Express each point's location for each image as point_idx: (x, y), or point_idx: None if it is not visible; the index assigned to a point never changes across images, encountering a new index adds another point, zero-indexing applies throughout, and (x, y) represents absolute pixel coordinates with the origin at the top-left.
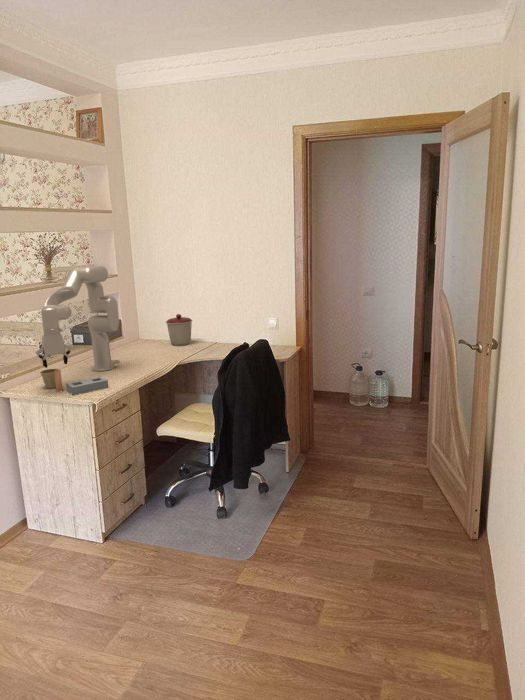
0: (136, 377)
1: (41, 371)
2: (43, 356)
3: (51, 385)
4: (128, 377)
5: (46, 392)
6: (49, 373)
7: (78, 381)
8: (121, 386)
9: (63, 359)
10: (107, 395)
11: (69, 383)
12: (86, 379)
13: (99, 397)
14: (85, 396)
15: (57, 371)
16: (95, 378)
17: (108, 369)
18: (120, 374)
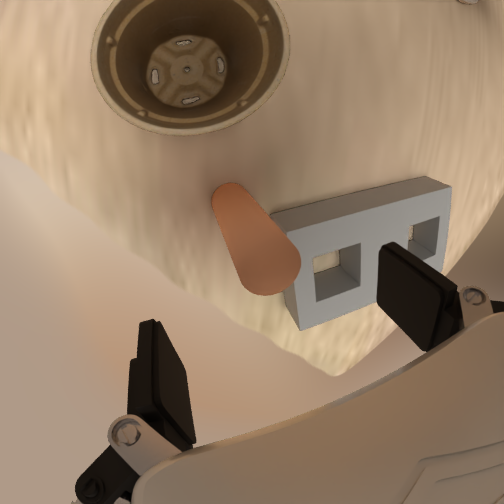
0: (499, 178)
1: (110, 13)
2: (150, 465)
3: (184, 110)
4: (491, 159)
5: (148, 190)
6: (182, 134)
7: (356, 229)
8: (446, 261)
9: (410, 272)
10: (379, 341)
11: (303, 248)
12: (396, 210)
13: (354, 354)
14: (323, 334)
15: (268, 293)
16: (428, 216)
17: (465, 3)
18: (486, 96)
